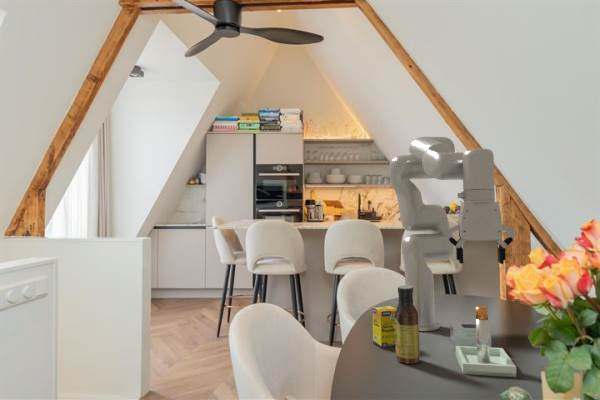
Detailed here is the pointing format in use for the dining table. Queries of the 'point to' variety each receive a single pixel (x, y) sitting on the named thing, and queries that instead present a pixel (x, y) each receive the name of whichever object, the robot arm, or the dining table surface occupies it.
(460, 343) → the block
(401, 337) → the sauce bottle
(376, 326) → the supplement box
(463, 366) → the tray
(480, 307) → the pin
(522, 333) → the dining table surface
